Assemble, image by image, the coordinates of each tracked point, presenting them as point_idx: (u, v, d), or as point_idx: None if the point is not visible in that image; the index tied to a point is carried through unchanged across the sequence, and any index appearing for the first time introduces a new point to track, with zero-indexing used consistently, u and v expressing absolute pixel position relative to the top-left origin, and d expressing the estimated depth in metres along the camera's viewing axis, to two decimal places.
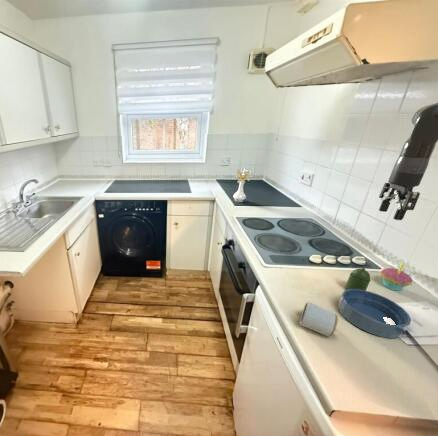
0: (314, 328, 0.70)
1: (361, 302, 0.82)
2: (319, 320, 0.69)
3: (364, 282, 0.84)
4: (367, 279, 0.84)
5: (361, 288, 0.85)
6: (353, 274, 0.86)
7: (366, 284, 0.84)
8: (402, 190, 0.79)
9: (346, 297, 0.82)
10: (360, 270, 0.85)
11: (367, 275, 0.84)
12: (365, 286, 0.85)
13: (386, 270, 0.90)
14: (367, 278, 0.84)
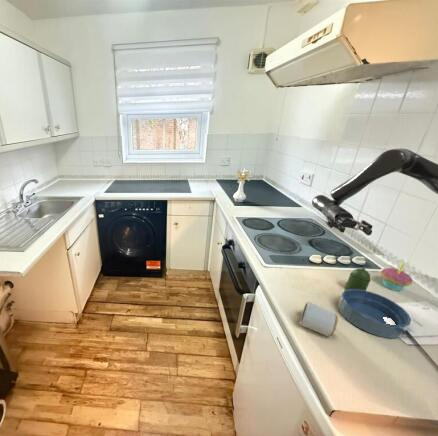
0: (314, 328, 0.70)
1: (361, 302, 0.82)
2: (319, 320, 0.69)
3: (364, 282, 0.84)
4: (367, 279, 0.84)
5: (361, 288, 0.85)
6: (353, 274, 0.86)
7: (366, 284, 0.84)
8: None
9: (346, 297, 0.82)
10: (360, 270, 0.85)
11: (367, 275, 0.84)
12: (365, 286, 0.85)
13: (386, 270, 0.90)
14: (367, 278, 0.84)
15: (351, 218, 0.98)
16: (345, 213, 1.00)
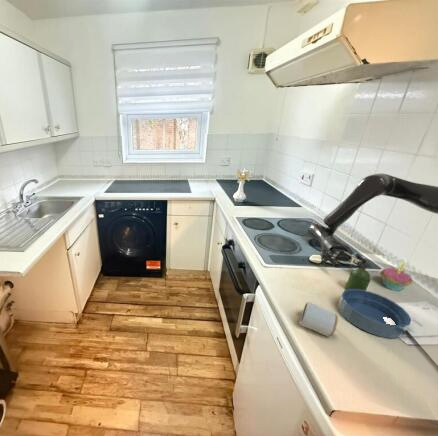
0: (314, 328, 0.70)
1: (361, 302, 0.82)
2: (319, 320, 0.69)
3: (364, 282, 0.84)
4: (367, 279, 0.84)
5: (361, 288, 0.85)
6: (353, 274, 0.86)
7: (366, 284, 0.84)
8: None
9: (346, 297, 0.82)
10: (360, 270, 0.85)
11: (367, 275, 0.84)
12: (365, 286, 0.85)
13: (386, 270, 0.90)
14: (367, 278, 0.84)
15: (345, 251, 1.00)
16: (340, 246, 1.02)
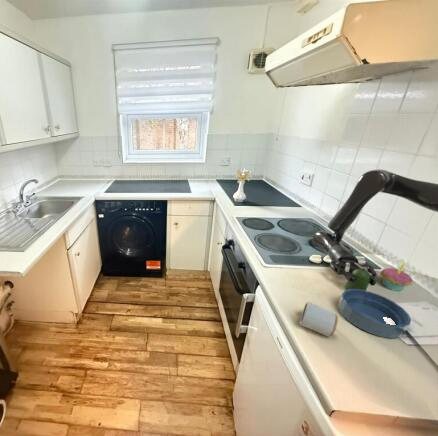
0: (314, 328, 0.70)
1: (361, 302, 0.82)
2: (319, 320, 0.69)
3: (364, 282, 0.84)
4: (367, 279, 0.84)
5: (361, 288, 0.85)
6: (353, 274, 0.86)
7: (366, 284, 0.84)
8: None
9: (346, 297, 0.82)
10: (360, 270, 0.85)
11: (367, 275, 0.84)
12: (365, 286, 0.85)
13: (386, 270, 0.90)
14: (367, 278, 0.84)
15: (356, 263, 0.92)
16: (349, 256, 0.94)
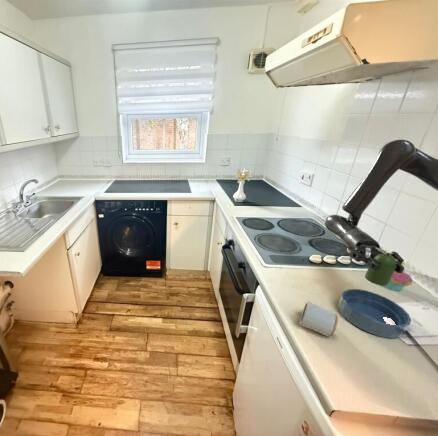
0: (314, 328, 0.70)
1: (361, 302, 0.82)
2: (319, 320, 0.69)
3: (389, 269, 0.71)
4: (393, 265, 0.71)
5: (385, 276, 0.72)
6: (376, 260, 0.74)
7: (391, 271, 0.72)
8: None
9: (346, 297, 0.82)
10: (384, 255, 0.72)
11: (393, 261, 0.71)
12: (390, 274, 0.72)
13: None
14: (393, 264, 0.71)
15: (378, 248, 0.79)
16: (370, 241, 0.81)
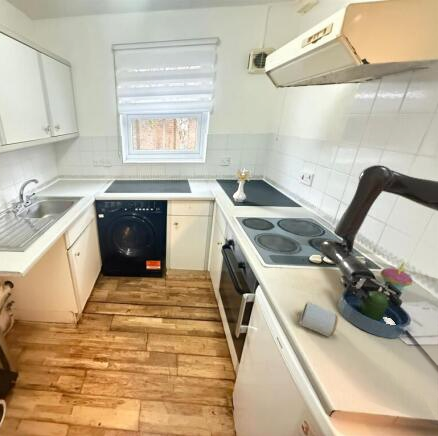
0: (314, 328, 0.70)
1: (361, 302, 0.82)
2: (319, 320, 0.69)
3: (381, 308, 0.72)
4: (384, 304, 0.72)
5: (377, 314, 0.73)
6: (368, 297, 0.74)
7: (383, 310, 0.72)
8: None
9: (346, 297, 0.82)
10: (376, 293, 0.73)
11: (384, 299, 0.72)
12: (382, 312, 0.73)
13: (386, 270, 0.90)
14: (384, 303, 0.72)
15: (373, 279, 0.79)
16: (365, 271, 0.81)
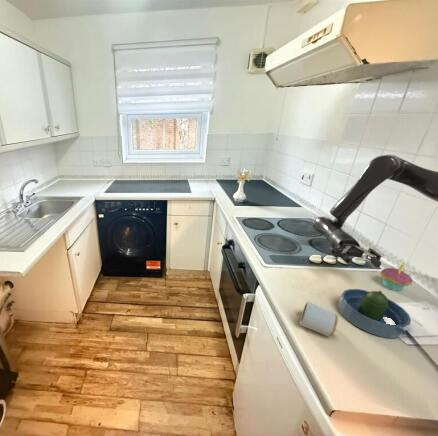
0: (314, 328, 0.70)
1: (361, 302, 0.82)
2: (319, 320, 0.69)
3: (381, 308, 0.72)
4: (384, 304, 0.72)
5: (377, 314, 0.73)
6: (368, 297, 0.74)
7: (383, 310, 0.72)
8: None
9: (346, 297, 0.82)
10: (376, 293, 0.73)
11: (384, 299, 0.72)
12: (382, 312, 0.73)
13: (386, 270, 0.90)
14: (384, 303, 0.72)
15: (357, 246, 0.90)
16: (350, 240, 0.92)
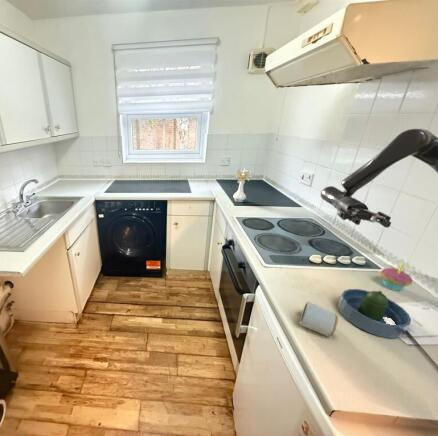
0: (314, 328, 0.70)
1: (361, 302, 0.82)
2: (319, 320, 0.69)
3: (381, 308, 0.72)
4: (384, 304, 0.72)
5: (377, 314, 0.73)
6: (368, 297, 0.74)
7: (383, 310, 0.72)
8: None
9: (346, 297, 0.82)
10: (376, 293, 0.73)
11: (384, 299, 0.72)
12: (382, 312, 0.73)
13: (386, 270, 0.90)
14: (384, 303, 0.72)
15: (366, 209, 0.89)
16: (359, 204, 0.91)
